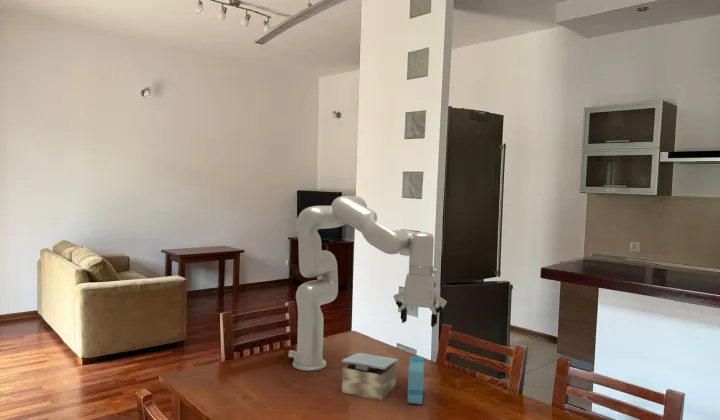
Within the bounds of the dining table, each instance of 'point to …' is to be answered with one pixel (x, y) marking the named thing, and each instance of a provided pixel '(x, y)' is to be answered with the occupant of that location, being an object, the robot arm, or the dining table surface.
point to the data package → (415, 380)
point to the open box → (368, 381)
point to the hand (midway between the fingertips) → (418, 323)
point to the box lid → (369, 361)
